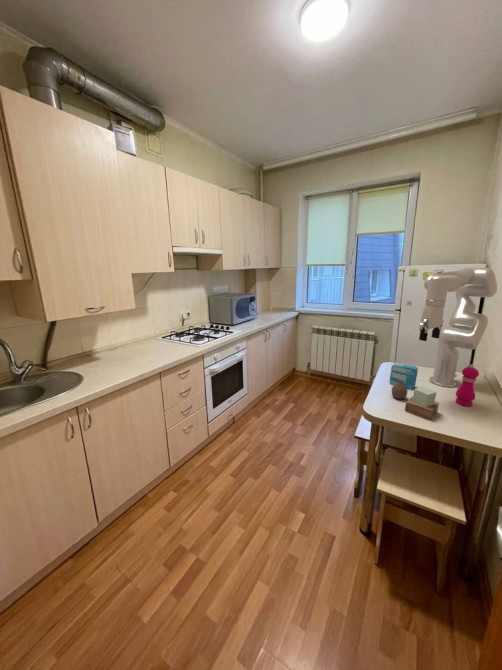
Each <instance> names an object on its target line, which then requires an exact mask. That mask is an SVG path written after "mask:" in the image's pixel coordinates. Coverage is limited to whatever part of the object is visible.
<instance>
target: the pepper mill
mask: <svg viewBox="0 0 502 670" xmlns="http://www.w3.org/2000/svg"><path fill="white" fill-rule="evenodd" d="M461 373H462V378H461V379H462V383H461V385H459V387H458V388H457V390H456V392H455V395H456V398H455V403H456V404H458V405H460V406H462V407H466V408H467V407H469V408H470V407H472V406H473V401H474V400H475V399H476V393H475V390H474V384H475V383H476V382H477V381H476V380H477V378H478V377H479V375H480V372H479V370H478V369H477V368H475V365H474V364H472V363H471V364H469V366H467V367H464V368H463V369H462V371H461Z"/></svg>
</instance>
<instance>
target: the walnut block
mask: <svg viewBox="0 0 502 670" xmlns="http://www.w3.org/2000/svg"><path fill="white" fill-rule="evenodd" d="M439 405H440V402H437V401H435V403H434V405H431V406H428V407H424V406H422V405H420V404H418V403H415V402H413V396H411V397H410V398H409V399H408V400H406V402H405V406H404V411H405V413H409V414H412V415H414V416H417V417H420V418H422V419H425V420H427V421H431V420H432V419H433V417H434V416H435V415H436V414H437V413H438V411H439Z"/></svg>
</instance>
